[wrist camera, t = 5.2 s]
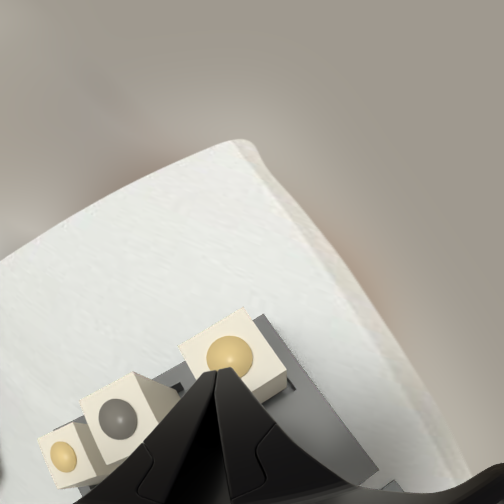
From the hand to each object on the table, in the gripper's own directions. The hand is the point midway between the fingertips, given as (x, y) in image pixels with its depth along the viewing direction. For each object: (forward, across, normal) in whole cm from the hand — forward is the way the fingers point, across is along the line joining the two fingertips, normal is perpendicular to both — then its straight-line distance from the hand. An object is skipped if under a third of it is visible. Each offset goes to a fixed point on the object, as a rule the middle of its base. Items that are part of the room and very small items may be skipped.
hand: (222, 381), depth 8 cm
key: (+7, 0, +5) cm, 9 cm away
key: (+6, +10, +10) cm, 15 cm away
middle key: (+6, +5, +7) cm, 10 cm away
